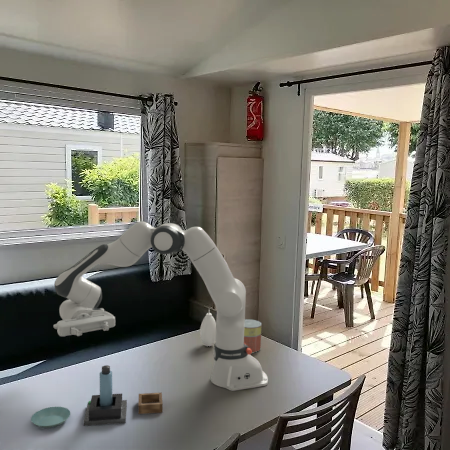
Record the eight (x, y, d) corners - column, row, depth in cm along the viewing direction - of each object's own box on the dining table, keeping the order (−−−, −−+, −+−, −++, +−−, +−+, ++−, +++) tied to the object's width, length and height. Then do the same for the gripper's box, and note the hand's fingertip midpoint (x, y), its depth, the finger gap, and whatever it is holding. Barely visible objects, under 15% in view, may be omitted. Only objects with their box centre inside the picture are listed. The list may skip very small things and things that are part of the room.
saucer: (23, 423, 146) (23, 416, 146) (57, 408, 155) (57, 402, 155) (44, 437, 139) (44, 430, 139) (77, 421, 148) (77, 414, 148)
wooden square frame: (161, 400, 162) (161, 392, 162) (162, 412, 154) (162, 403, 154) (138, 401, 161) (138, 393, 160) (138, 414, 153) (138, 405, 153)
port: (126, 404, 159) (126, 391, 158) (125, 423, 147) (125, 409, 147) (87, 406, 157) (87, 394, 156) (83, 425, 145) (83, 412, 144)
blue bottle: (112, 406, 154) (112, 364, 152) (111, 413, 150) (111, 369, 148) (100, 407, 153) (100, 364, 152) (99, 413, 150) (98, 370, 148)
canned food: (242, 342, 219) (243, 317, 218) (264, 346, 214) (265, 321, 213) (232, 350, 209) (232, 324, 208) (254, 355, 204) (255, 329, 203)
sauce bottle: (210, 350, 208) (211, 311, 206) (196, 346, 212) (197, 308, 210) (219, 345, 214) (221, 307, 212) (206, 341, 219) (207, 304, 216)
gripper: (51, 316, 164) (62, 327, 153) (106, 307, 175) (121, 317, 164) (52, 333, 164) (63, 345, 153) (107, 323, 176) (121, 334, 165)
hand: (93, 331), depth 159 cm, fingers open, 8 cm apart
